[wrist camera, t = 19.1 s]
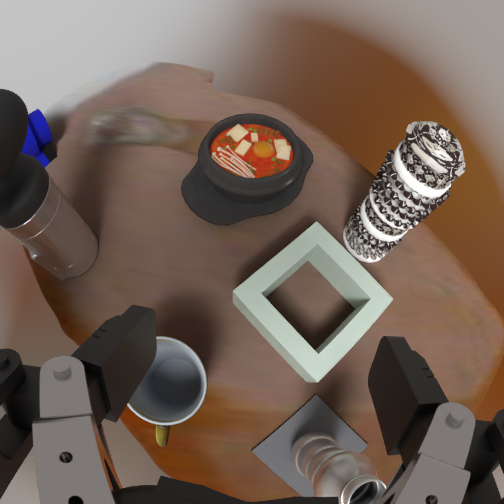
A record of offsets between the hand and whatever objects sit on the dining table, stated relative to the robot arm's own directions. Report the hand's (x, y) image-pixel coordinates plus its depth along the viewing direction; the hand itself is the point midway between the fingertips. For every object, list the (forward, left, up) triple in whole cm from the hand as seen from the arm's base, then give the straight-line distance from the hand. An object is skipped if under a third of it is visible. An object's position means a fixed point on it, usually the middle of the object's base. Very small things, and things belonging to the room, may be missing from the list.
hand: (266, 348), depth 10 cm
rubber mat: (-1, -16, -32) cm, 36 cm away
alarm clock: (-9, +62, -33) cm, 70 cm away
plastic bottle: (-1, -15, -32) cm, 36 cm away
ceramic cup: (-9, +3, -32) cm, 34 cm away
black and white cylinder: (+29, +2, -32) cm, 43 cm away
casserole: (+22, +23, -33) cm, 46 cm away
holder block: (+13, 0, -32) cm, 35 cm away
